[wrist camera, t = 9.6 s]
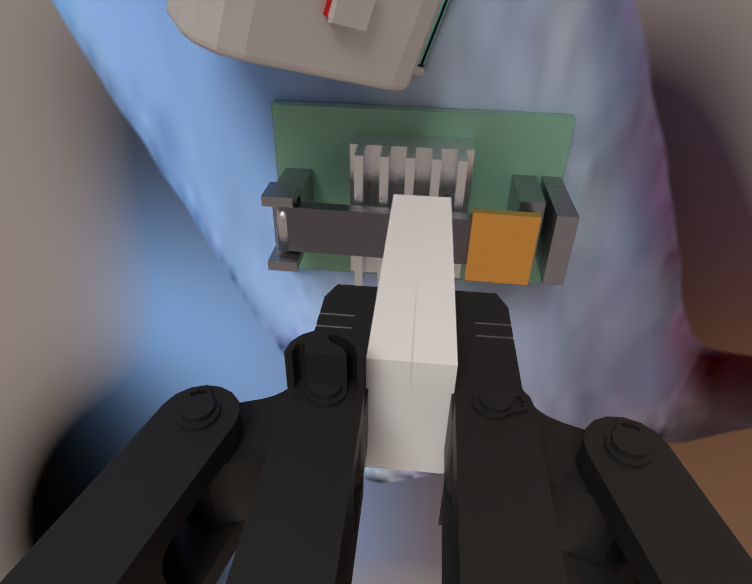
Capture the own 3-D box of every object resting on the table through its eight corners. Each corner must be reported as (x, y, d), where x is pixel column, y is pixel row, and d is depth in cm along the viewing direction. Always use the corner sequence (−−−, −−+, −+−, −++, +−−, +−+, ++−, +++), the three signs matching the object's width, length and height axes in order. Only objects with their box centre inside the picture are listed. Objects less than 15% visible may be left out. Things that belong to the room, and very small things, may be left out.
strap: (275, 187, 45) (268, 198, 43) (537, 205, 43) (541, 217, 41) (281, 252, 48) (274, 264, 47) (525, 271, 46) (527, 285, 45)
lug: (512, 174, 48) (523, 213, 42) (560, 176, 48) (579, 217, 42) (502, 235, 52) (511, 281, 45) (547, 238, 51) (562, 284, 45)
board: (274, 100, 48) (271, 104, 47) (572, 114, 46) (575, 118, 45) (287, 261, 57) (285, 267, 56) (537, 277, 55) (539, 284, 54)
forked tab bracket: (284, 158, 49) (261, 196, 43) (311, 160, 49) (291, 198, 43) (289, 225, 53) (268, 269, 46) (314, 227, 53) (297, 271, 46)
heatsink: (354, 132, 47) (345, 155, 43) (473, 138, 47) (476, 161, 42) (354, 254, 54) (347, 285, 50) (458, 261, 54) (460, 293, 49)
